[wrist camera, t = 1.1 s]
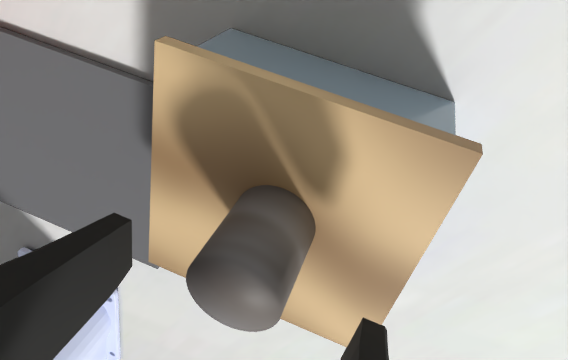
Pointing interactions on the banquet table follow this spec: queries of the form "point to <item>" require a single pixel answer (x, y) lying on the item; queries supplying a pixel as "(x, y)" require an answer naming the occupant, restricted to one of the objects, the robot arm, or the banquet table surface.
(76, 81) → the mat
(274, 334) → the banquet table surface
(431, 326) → the banquet table surface
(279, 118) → the lid
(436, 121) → the blue-grey square box
